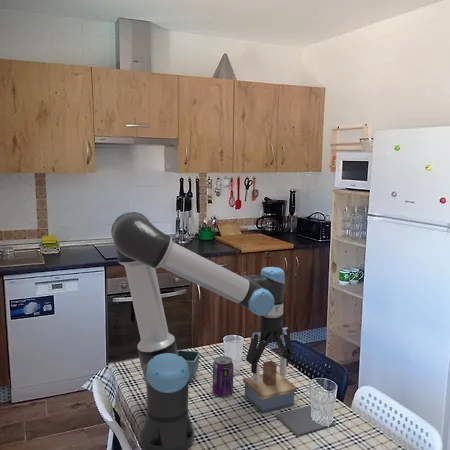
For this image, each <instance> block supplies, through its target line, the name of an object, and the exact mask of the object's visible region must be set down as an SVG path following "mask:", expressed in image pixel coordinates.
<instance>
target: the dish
mask: <svg viewBox="0 0 450 450" xmlns="http://www.w3.org/2000/svg"><path fill="white" fill-rule="evenodd" d="M244 396H245V398H246V399H247V400H248V401H249V402H250V403H251V404H252V405H254V407H255V408H256V409H257V410H258V411H260V413H261V414H265V413H269V412H273V411H277V410H281V409H286V408H289V407H293V406H295V392H292V393H288V394H284V395H280V396H276V397H271V398H267V399H263V400H262V399H261V398H260V397H259V396H258V395H257V394H256V393H255V392H254V391H252V390H251V389H250V388H249V387H248V386H247V385H246V384H245V383H244Z"/></svg>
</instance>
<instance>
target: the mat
mask: <svg viewBox="0 0 450 450" xmlns="http://www.w3.org/2000/svg"><path fill="white" fill-rule="evenodd" d="M310 405H311V404H310ZM310 405H305V406H302V407H298V408H293V409H291V410H286V411H283V412H279V413H276V414H275V417H276V418H277V419H278V420H279V421H280V422H282V424H283V425H284V426H286V427H287V429H288V430H289V431H291V432H292V433H293V434H294V435H295V436H296V437H302V436H304V435H308V434H311V433H314V432H318V431H322V430H325V429H328V428H327V427H328V426H322V425H320V424H318V423H316V422H315V421H313V420H312V417H311V407H310ZM331 421H332V423H331V424H330V425H329V428H331V427H336V423H335V422H334V421H333V420H331Z"/></svg>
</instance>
